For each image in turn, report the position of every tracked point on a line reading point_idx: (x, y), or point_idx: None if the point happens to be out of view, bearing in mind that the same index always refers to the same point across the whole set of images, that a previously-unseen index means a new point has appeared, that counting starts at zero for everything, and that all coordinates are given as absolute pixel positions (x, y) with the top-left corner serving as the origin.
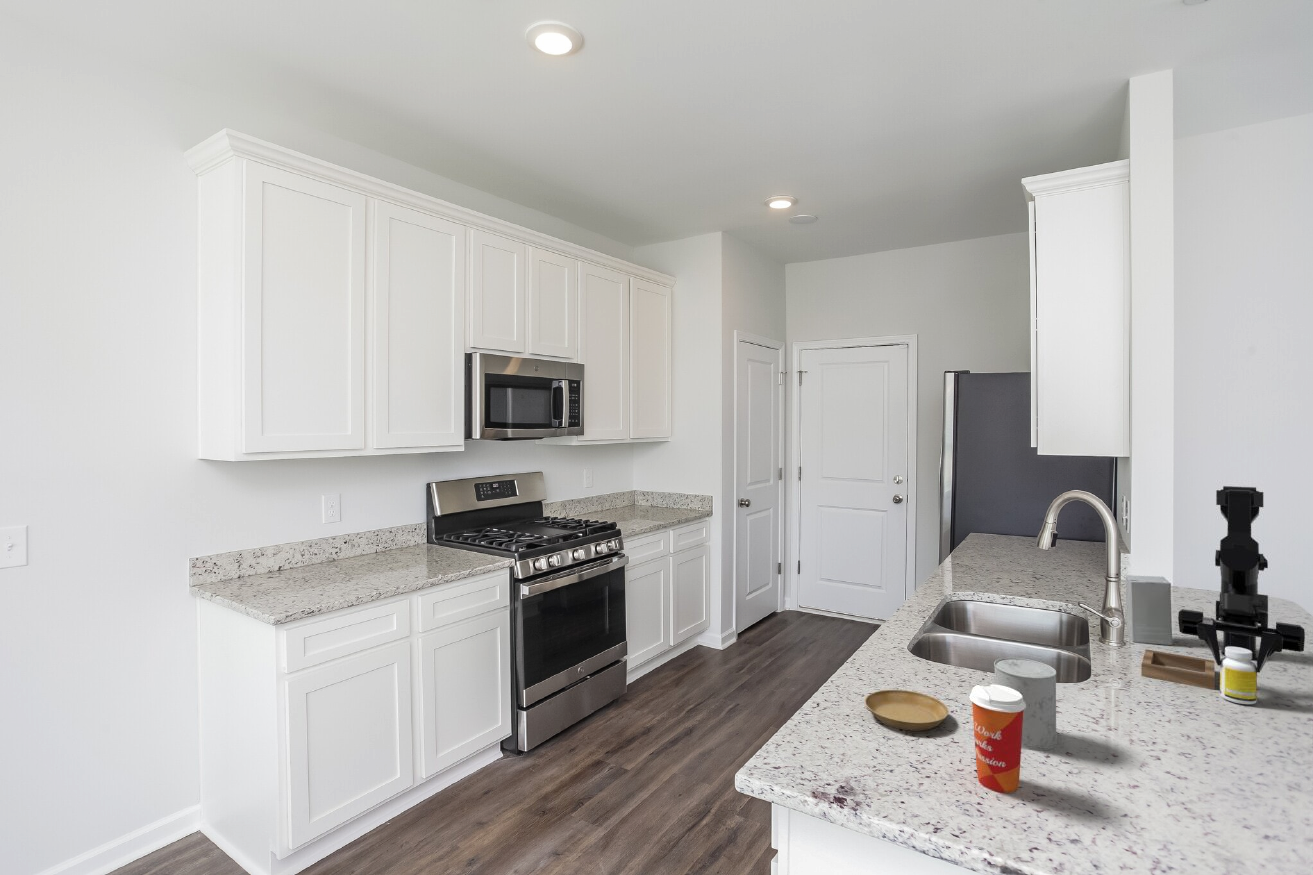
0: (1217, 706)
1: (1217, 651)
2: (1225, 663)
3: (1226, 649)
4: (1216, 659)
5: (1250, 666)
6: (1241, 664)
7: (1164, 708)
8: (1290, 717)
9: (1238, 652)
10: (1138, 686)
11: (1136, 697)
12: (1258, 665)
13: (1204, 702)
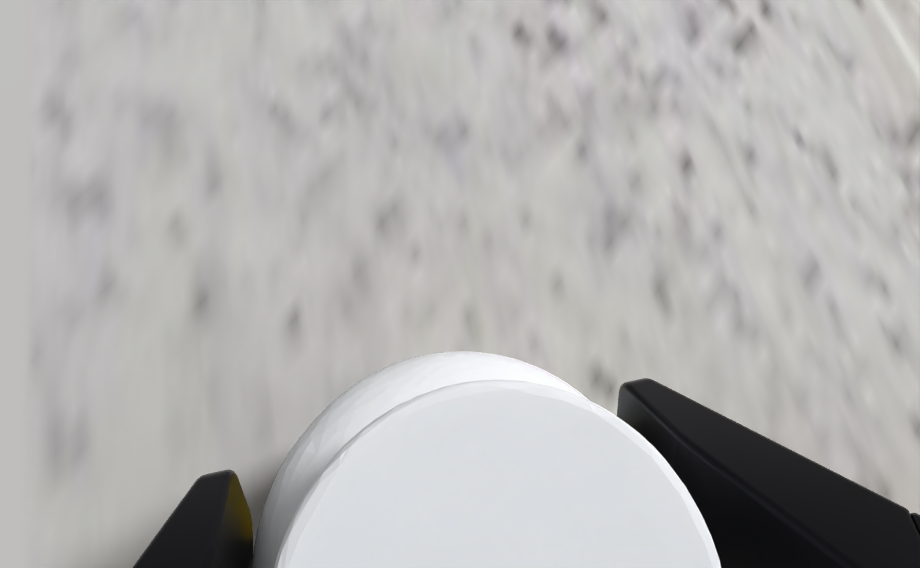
0: (488, 259)
1: (755, 465)
2: (570, 390)
3: (664, 459)
4: (680, 397)
5: (303, 463)
6: (399, 401)
7: (656, 9)
8: (100, 422)
9: (456, 395)
10: (897, 255)
11: (807, 65)
12: (201, 520)
13: (560, 272)
